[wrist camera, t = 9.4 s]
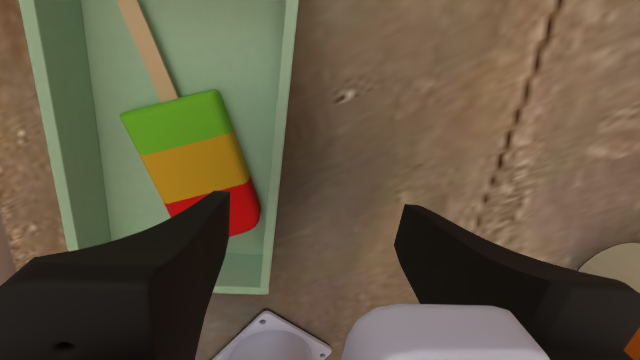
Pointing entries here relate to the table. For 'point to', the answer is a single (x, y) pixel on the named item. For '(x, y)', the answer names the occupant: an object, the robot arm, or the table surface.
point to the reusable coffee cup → (619, 276)
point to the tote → (138, 91)
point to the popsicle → (187, 138)
